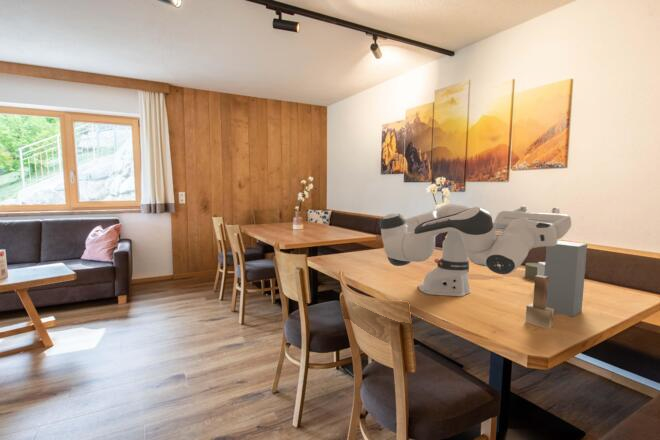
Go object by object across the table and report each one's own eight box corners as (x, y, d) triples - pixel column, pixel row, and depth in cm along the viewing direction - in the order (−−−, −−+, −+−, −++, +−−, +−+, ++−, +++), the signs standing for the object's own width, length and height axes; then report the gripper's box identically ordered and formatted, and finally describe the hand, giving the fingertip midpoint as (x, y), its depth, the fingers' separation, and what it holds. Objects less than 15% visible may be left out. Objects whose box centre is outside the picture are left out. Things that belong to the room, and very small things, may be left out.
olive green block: (531, 273, 182) (532, 261, 182) (555, 279, 172) (556, 265, 171) (519, 276, 176) (520, 264, 175) (544, 282, 166) (545, 268, 165)
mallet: (551, 279, 109) (556, 277, 111) (528, 274, 114) (533, 272, 117) (548, 329, 111) (552, 326, 113) (525, 322, 116) (530, 319, 119)
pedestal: (572, 317, 121) (578, 246, 118) (541, 309, 129) (546, 242, 126) (581, 311, 127) (587, 243, 125) (551, 303, 135) (556, 240, 132)
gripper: (489, 237, 110) (508, 214, 116) (562, 246, 94) (578, 219, 100) (486, 221, 107) (504, 199, 114) (559, 228, 91) (576, 201, 98)
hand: (539, 208), depth 107 cm, fingers open, 8 cm apart
